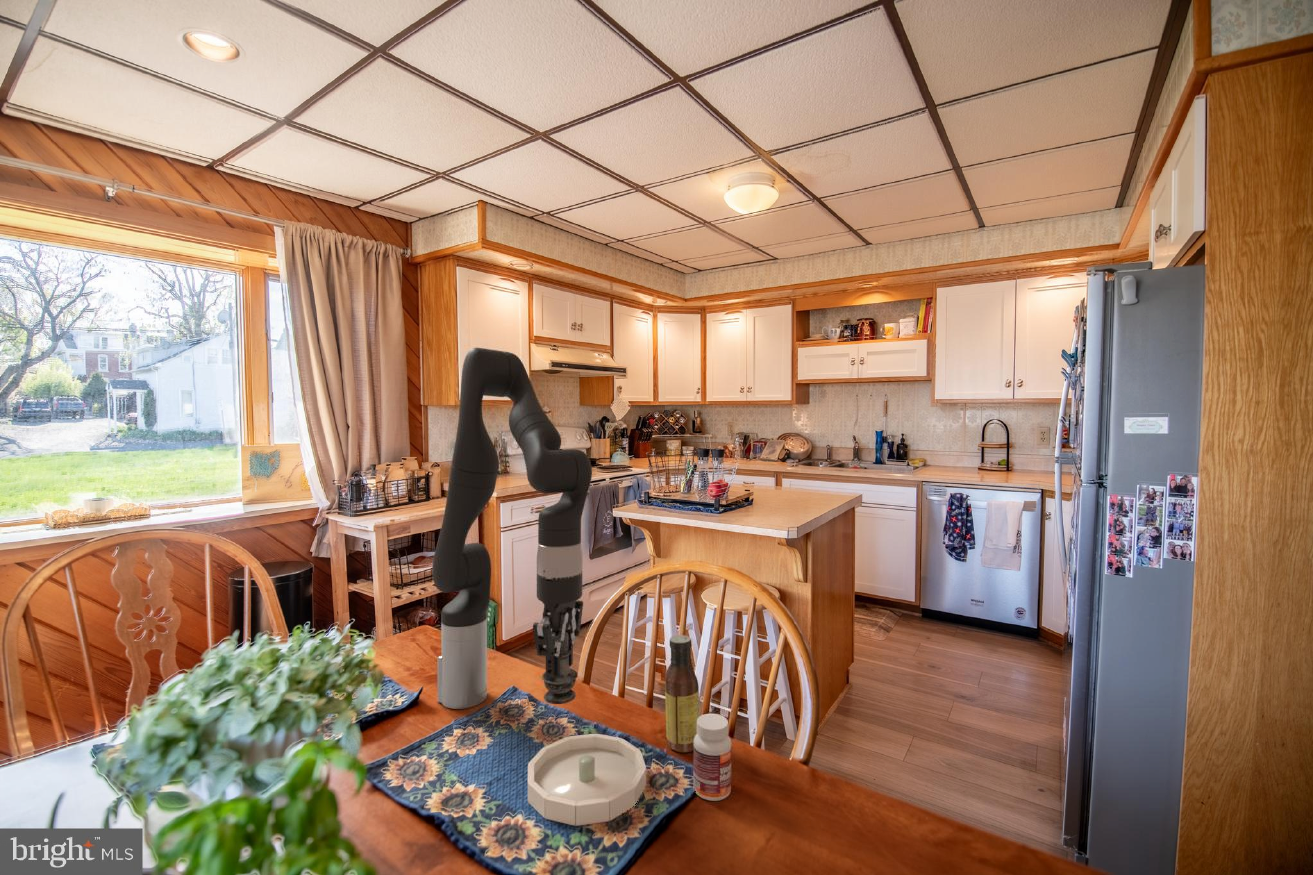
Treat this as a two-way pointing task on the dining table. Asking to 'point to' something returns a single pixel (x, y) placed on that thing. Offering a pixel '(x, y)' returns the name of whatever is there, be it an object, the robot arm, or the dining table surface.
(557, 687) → the dark stone tower
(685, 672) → the sauce bottle
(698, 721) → the pill bottle
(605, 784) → the tray
